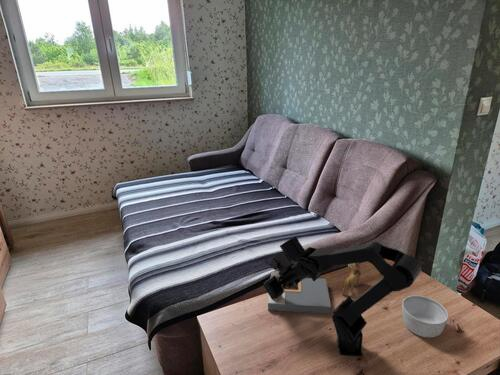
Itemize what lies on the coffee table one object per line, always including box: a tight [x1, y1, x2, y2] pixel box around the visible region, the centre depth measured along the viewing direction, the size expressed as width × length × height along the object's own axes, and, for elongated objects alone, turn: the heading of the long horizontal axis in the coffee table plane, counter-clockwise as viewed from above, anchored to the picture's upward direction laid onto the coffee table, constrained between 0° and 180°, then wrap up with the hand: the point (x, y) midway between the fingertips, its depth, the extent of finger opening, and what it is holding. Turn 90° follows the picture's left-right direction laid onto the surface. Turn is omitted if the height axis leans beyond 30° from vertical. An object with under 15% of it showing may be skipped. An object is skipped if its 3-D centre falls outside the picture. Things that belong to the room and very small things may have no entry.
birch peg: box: [270, 270, 282, 301], centre depth 110 cm, size 4×4×10 cm
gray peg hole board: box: [267, 276, 332, 315], centre depth 116 cm, size 22×16×3 cm
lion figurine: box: [342, 263, 362, 299], centre depth 119 cm, size 15×5×9 cm, turn 154°
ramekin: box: [401, 294, 449, 339], centre depth 100 cm, size 13×13×7 cm
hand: (273, 285), depth 111 cm, fingers closed on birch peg, 4 cm apart
